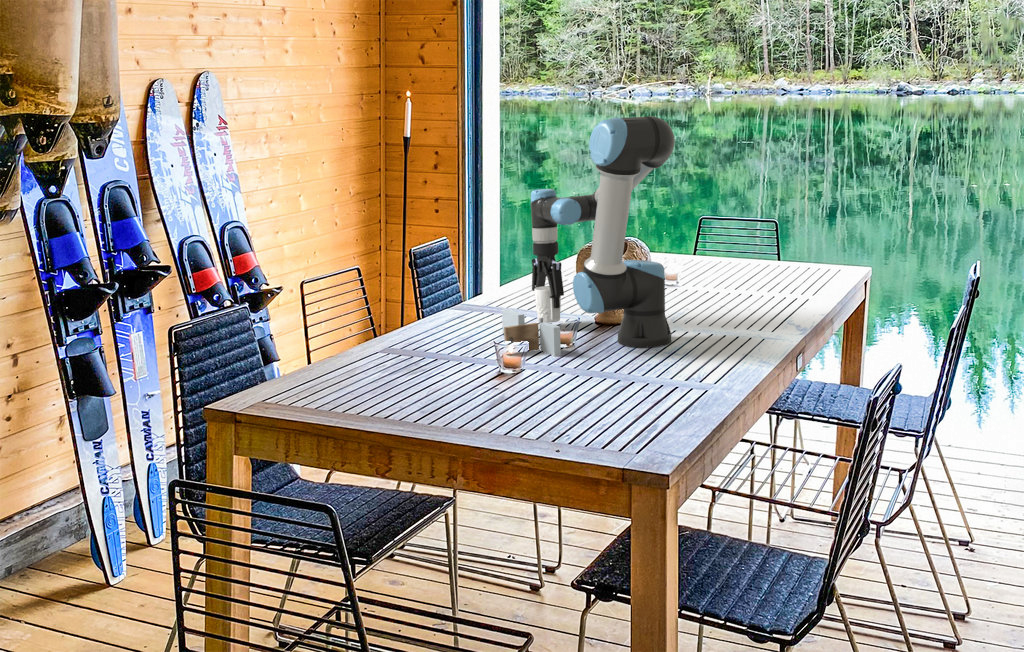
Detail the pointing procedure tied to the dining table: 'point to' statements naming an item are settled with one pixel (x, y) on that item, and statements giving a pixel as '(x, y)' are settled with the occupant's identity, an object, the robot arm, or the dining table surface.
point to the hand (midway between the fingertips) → (548, 316)
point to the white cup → (544, 303)
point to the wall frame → (547, 331)
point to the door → (523, 334)
